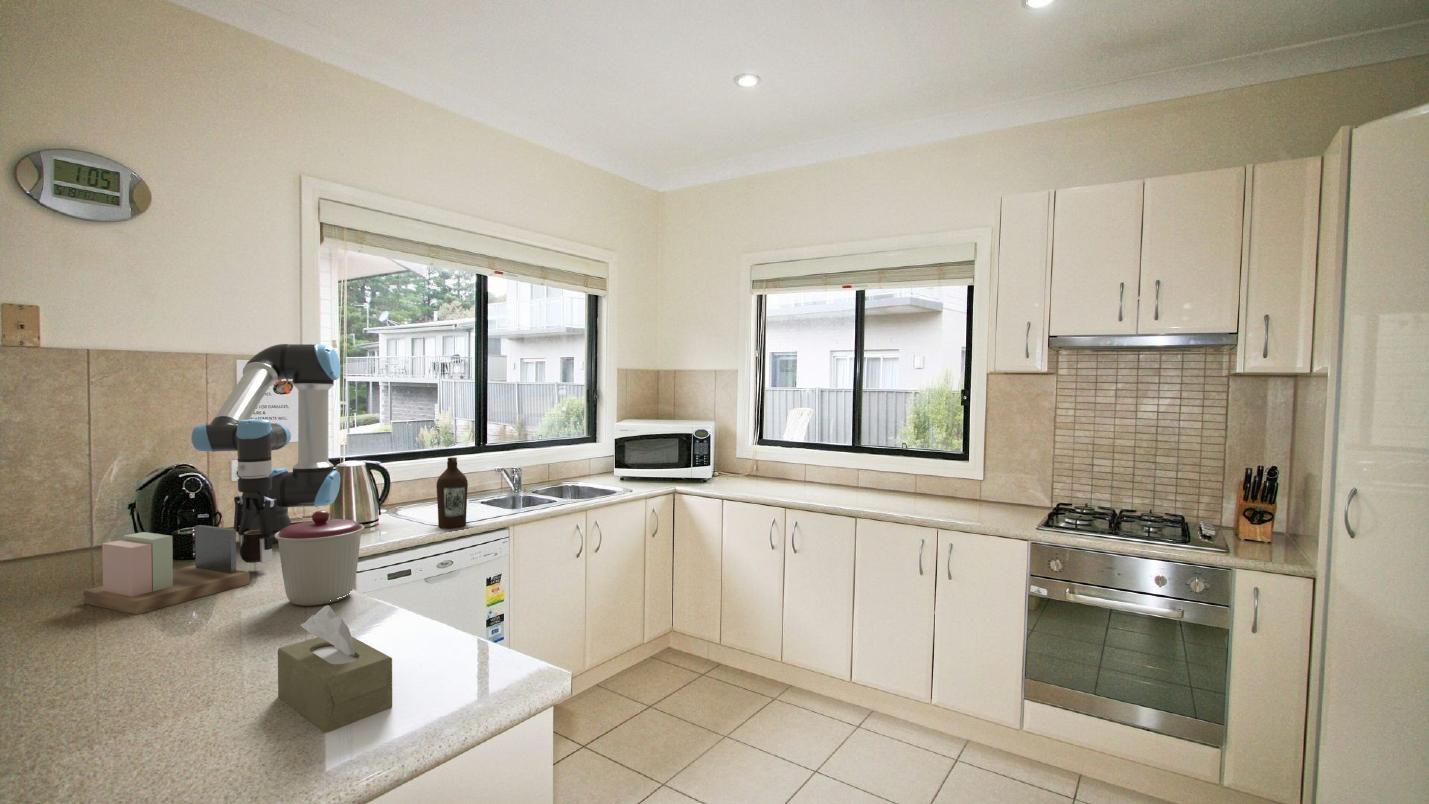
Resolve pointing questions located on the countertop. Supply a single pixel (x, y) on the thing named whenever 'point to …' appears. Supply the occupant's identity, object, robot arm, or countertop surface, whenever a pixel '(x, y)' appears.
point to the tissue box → (333, 674)
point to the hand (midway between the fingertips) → (256, 559)
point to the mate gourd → (251, 546)
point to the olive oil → (452, 496)
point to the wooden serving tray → (170, 590)
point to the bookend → (215, 548)
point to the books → (138, 564)
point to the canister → (319, 559)
